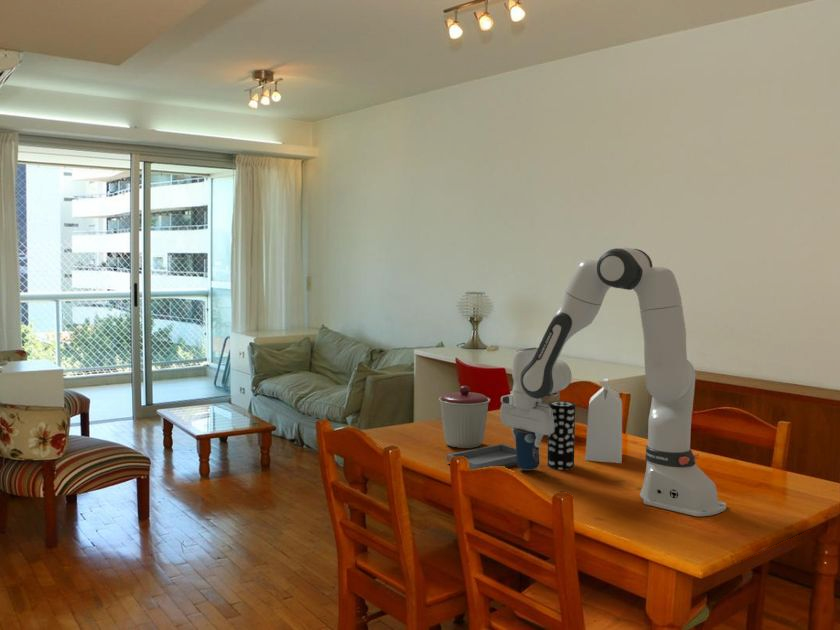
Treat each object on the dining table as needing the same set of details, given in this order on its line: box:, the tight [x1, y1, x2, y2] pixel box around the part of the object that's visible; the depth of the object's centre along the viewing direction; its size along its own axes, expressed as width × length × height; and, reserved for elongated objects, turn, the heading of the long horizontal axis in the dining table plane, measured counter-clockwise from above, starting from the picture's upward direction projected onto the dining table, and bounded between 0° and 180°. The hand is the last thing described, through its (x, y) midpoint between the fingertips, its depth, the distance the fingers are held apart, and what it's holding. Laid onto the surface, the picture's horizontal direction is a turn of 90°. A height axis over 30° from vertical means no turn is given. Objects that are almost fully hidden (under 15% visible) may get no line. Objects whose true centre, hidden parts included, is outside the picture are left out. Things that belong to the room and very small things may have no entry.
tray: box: [446, 443, 518, 469], centre depth 238 cm, size 14×24×3 cm, turn 127°
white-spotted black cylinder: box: [546, 400, 576, 471], centre depth 235 cm, size 8×8×20 cm
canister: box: [438, 385, 491, 449], centre depth 260 cm, size 18×18×21 cm
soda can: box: [515, 429, 540, 471], centre depth 229 cm, size 7×7×12 cm
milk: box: [584, 377, 623, 464], centre depth 246 cm, size 12×12×26 cm
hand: (526, 444), depth 229 cm, fingers closed on soda can, 7 cm apart
